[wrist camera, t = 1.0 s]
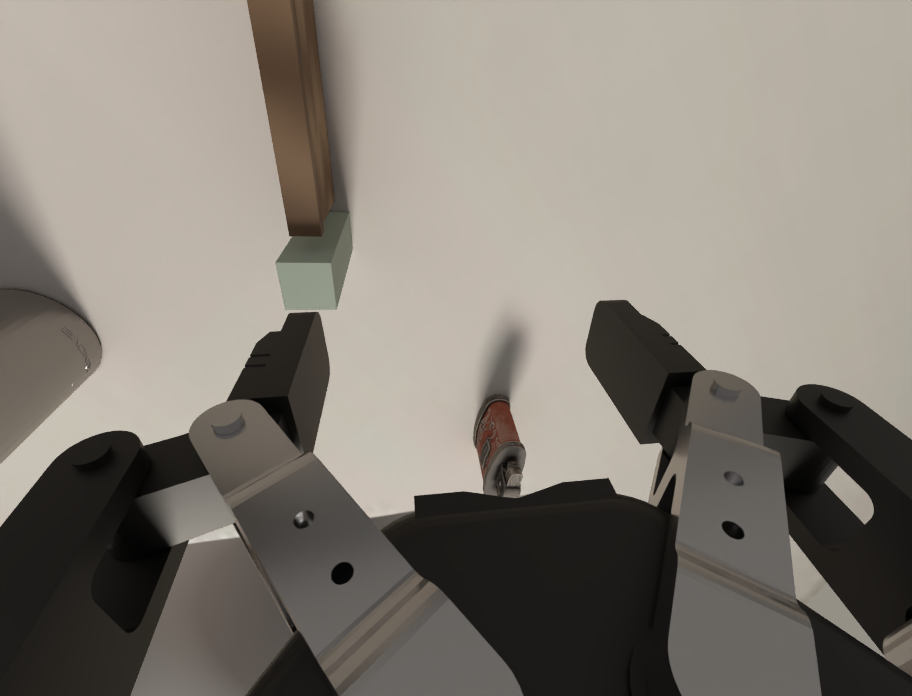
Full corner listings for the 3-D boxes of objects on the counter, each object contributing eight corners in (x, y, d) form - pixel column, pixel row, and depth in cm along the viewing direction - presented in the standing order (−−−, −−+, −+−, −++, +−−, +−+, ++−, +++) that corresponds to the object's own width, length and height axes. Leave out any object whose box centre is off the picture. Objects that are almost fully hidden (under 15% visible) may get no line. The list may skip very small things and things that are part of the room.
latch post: (314, 249, 32) (285, 309, 24) (308, 211, 31) (275, 262, 23) (352, 249, 33) (336, 309, 25) (349, 212, 31) (330, 262, 23)
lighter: (484, 392, 43) (504, 468, 35) (514, 395, 44) (540, 469, 36) (468, 444, 48) (482, 522, 39) (495, 446, 48) (515, 523, 40)
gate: (265, -149, 20) (201, -253, 14) (302, -144, 21) (256, -244, 14) (313, 199, 30) (289, 236, 23) (338, 200, 30) (321, 236, 24)
